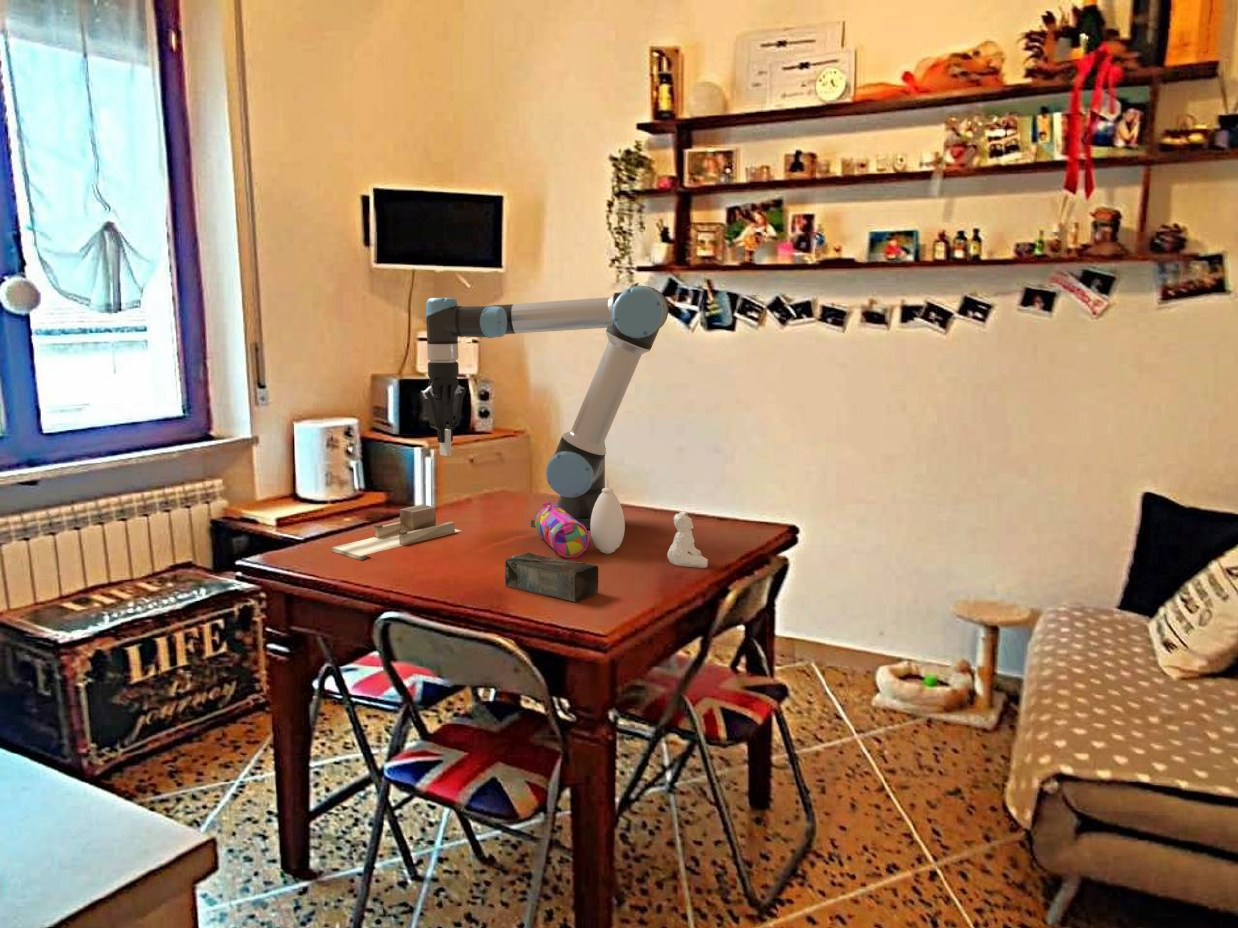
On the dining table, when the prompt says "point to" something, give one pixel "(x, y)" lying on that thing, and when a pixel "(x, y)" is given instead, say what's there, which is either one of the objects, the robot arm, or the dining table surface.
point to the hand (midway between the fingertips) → (445, 455)
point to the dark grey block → (551, 576)
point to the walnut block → (417, 517)
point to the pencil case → (561, 531)
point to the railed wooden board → (392, 539)
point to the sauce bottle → (607, 522)
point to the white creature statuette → (685, 544)
